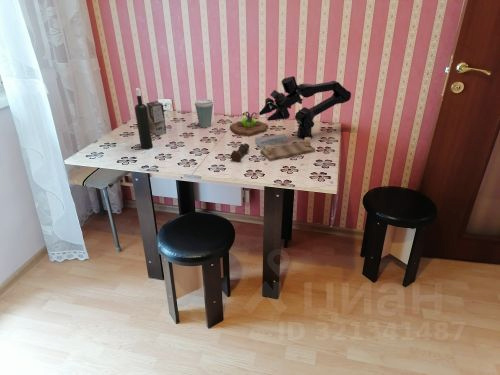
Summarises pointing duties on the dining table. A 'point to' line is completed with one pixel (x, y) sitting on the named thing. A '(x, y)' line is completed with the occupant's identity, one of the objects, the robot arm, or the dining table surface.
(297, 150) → the peg rack
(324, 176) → the dining table surface
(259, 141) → the grey stepped block
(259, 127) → the plant
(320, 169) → the dining table surface
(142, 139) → the wine bottle
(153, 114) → the coffee box
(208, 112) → the disposable coffee cup
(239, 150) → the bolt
